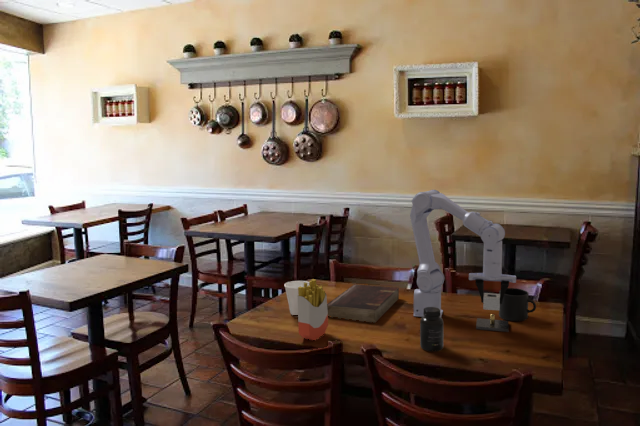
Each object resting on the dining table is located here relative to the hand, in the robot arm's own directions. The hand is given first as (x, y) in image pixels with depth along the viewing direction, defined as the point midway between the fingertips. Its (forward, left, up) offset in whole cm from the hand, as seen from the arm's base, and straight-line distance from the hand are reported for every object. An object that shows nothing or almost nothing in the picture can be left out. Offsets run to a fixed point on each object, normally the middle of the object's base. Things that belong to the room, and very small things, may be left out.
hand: (491, 302), depth 171 cm
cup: (-67, -3, -9) cm, 67 cm away
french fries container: (-54, -23, -9) cm, 59 cm away
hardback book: (-46, +10, -9) cm, 48 cm away
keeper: (0, +1, -8) cm, 8 cm away
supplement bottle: (-17, -22, -9) cm, 29 cm away
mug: (+8, +12, -9) cm, 17 cm away
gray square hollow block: (0, 0, -2) cm, 2 cm away
